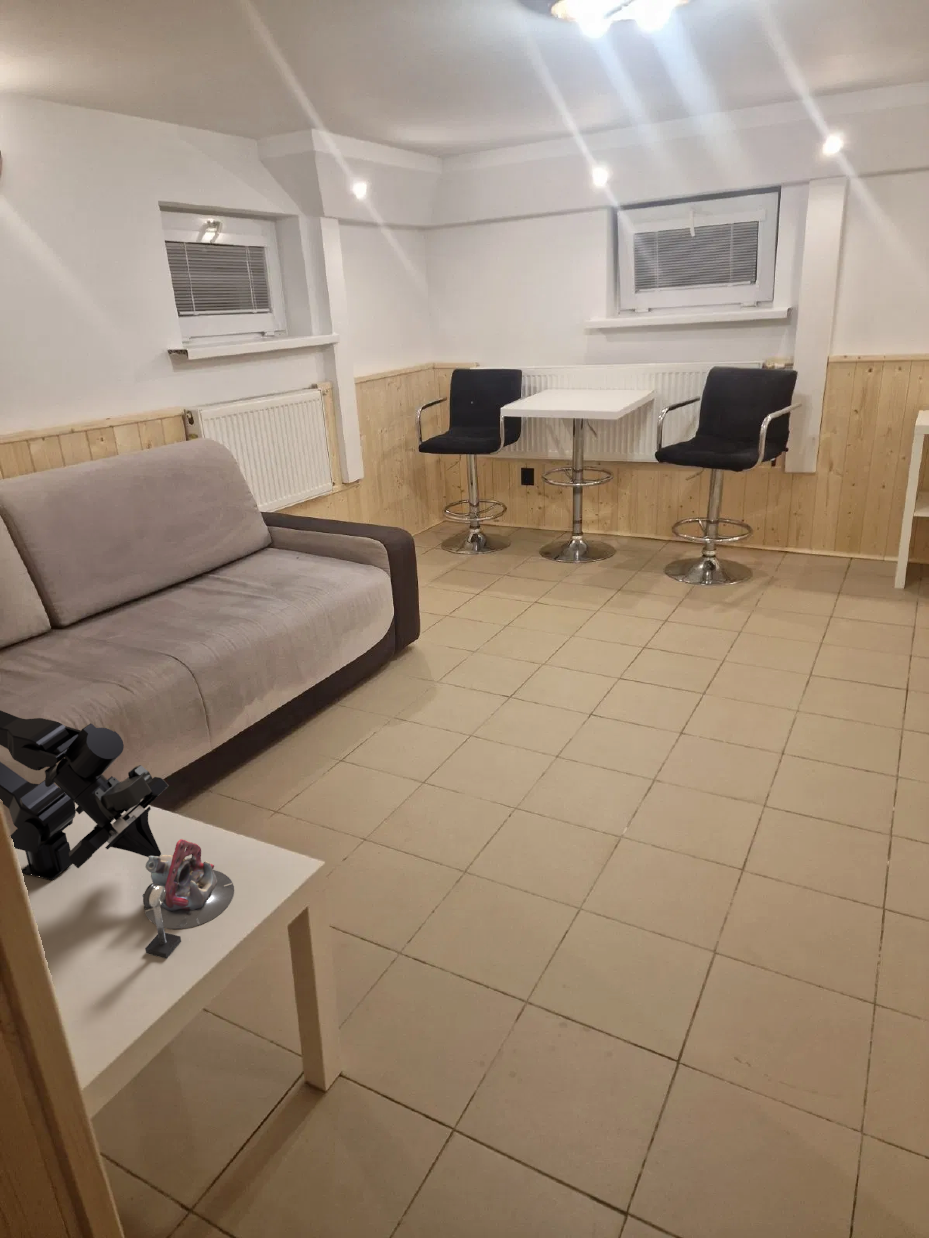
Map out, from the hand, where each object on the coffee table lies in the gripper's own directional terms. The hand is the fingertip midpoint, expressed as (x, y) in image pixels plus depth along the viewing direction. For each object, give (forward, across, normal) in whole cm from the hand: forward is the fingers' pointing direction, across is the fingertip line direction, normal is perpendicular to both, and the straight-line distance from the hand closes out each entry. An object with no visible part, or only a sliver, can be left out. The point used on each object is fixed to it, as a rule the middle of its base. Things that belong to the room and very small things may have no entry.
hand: (158, 856), depth 133 cm
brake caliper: (+8, 0, +2) cm, 8 cm away
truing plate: (+8, 0, +2) cm, 9 cm away
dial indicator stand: (+10, -10, 0) cm, 15 cm away
